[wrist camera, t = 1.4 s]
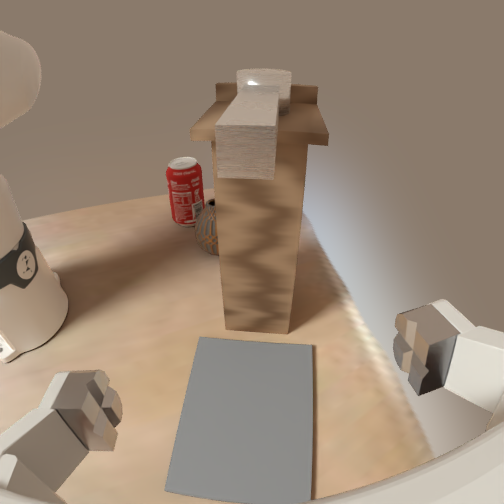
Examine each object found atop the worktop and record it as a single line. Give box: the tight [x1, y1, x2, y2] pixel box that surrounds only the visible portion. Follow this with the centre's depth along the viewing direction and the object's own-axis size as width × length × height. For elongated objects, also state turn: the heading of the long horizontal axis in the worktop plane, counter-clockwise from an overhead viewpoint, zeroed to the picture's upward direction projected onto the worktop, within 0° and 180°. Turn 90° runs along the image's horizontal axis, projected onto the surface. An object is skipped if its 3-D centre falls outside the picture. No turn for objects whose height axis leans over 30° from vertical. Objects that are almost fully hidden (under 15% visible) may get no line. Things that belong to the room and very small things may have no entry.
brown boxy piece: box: [190, 83, 329, 334], centre depth 36 cm, size 11×12×28 cm
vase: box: [195, 199, 219, 255], centre depth 52 cm, size 7×7×9 cm
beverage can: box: [166, 157, 205, 227], centre depth 58 cm, size 6×6×12 cm
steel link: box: [215, 69, 291, 180], centre depth 23 cm, size 5×18×4 cm, turn 175°
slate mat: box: [165, 337, 313, 504], centre depth 32 cm, size 14×20×1 cm
